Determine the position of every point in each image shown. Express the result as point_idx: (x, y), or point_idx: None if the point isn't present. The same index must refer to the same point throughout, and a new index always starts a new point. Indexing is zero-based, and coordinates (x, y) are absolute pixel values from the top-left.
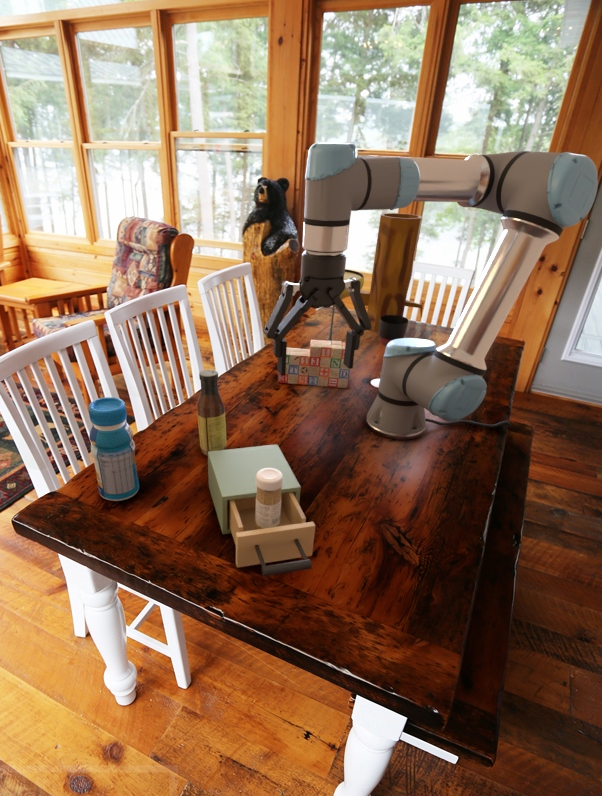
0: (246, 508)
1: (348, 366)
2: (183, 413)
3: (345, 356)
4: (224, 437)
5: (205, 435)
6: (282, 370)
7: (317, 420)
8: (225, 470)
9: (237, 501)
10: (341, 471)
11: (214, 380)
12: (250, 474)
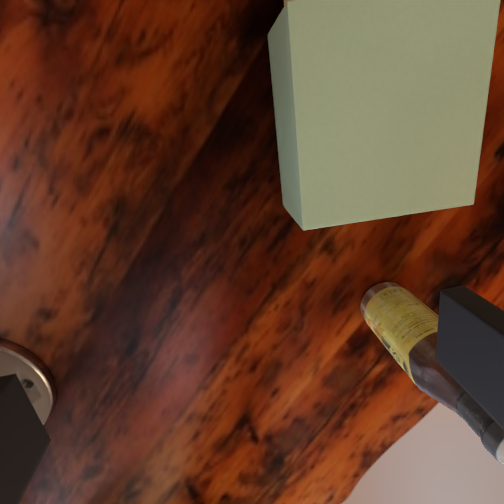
0: None
1: (13, 390)
2: (407, 416)
3: (14, 480)
4: (381, 310)
5: (427, 307)
6: (484, 302)
7: (161, 402)
8: (459, 111)
9: None
10: (137, 224)
11: None
12: (404, 86)
